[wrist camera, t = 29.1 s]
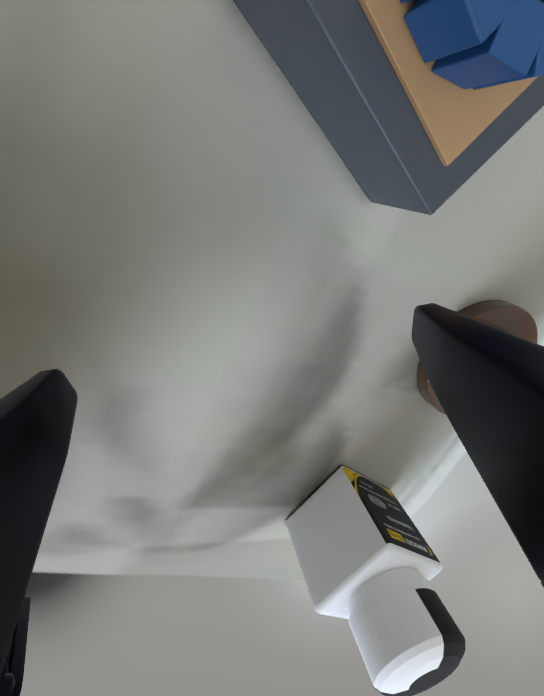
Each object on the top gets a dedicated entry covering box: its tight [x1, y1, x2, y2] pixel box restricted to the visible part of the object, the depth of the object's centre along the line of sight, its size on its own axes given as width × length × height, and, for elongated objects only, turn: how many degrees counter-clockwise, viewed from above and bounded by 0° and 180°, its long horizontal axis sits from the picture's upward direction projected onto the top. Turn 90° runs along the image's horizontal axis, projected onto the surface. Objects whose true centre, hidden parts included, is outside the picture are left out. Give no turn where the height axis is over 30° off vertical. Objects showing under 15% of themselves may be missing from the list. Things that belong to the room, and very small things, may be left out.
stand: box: [418, 300, 537, 414], centre depth 22 cm, size 9×9×10 cm
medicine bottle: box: [286, 466, 465, 696], centre depth 25 cm, size 7×7×12 cm
